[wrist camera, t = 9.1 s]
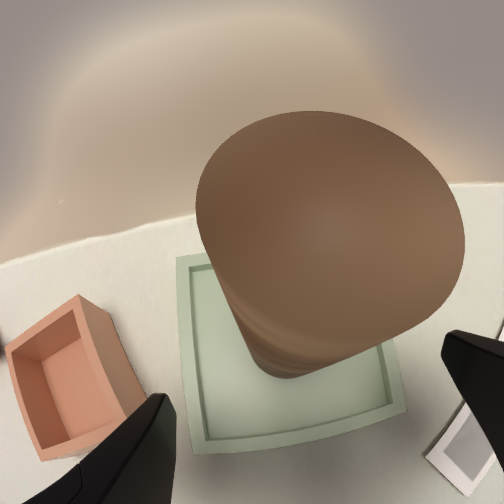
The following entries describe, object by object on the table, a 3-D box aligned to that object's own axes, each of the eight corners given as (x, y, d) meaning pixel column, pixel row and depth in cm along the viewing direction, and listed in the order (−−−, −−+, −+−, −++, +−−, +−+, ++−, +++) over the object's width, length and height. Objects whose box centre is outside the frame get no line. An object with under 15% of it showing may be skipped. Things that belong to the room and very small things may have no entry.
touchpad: (536, 357, 12) (550, 352, 11) (460, 495, 8) (475, 499, 6) (504, 309, 16) (518, 300, 14) (417, 454, 11) (433, 459, 10)
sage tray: (392, 409, 13) (406, 410, 11) (201, 447, 13) (193, 454, 11) (350, 245, 19) (358, 230, 17) (184, 270, 19) (176, 257, 17)
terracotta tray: (160, 422, 14) (132, 428, 10) (76, 456, 12) (41, 461, 8) (109, 313, 17) (78, 294, 14) (38, 358, 15) (4, 346, 12)
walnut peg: (340, 344, 14) (490, 217, 3) (280, 394, 13) (342, 418, 2) (292, 290, 16) (330, 93, 5) (233, 334, 15) (149, 177, 4)
